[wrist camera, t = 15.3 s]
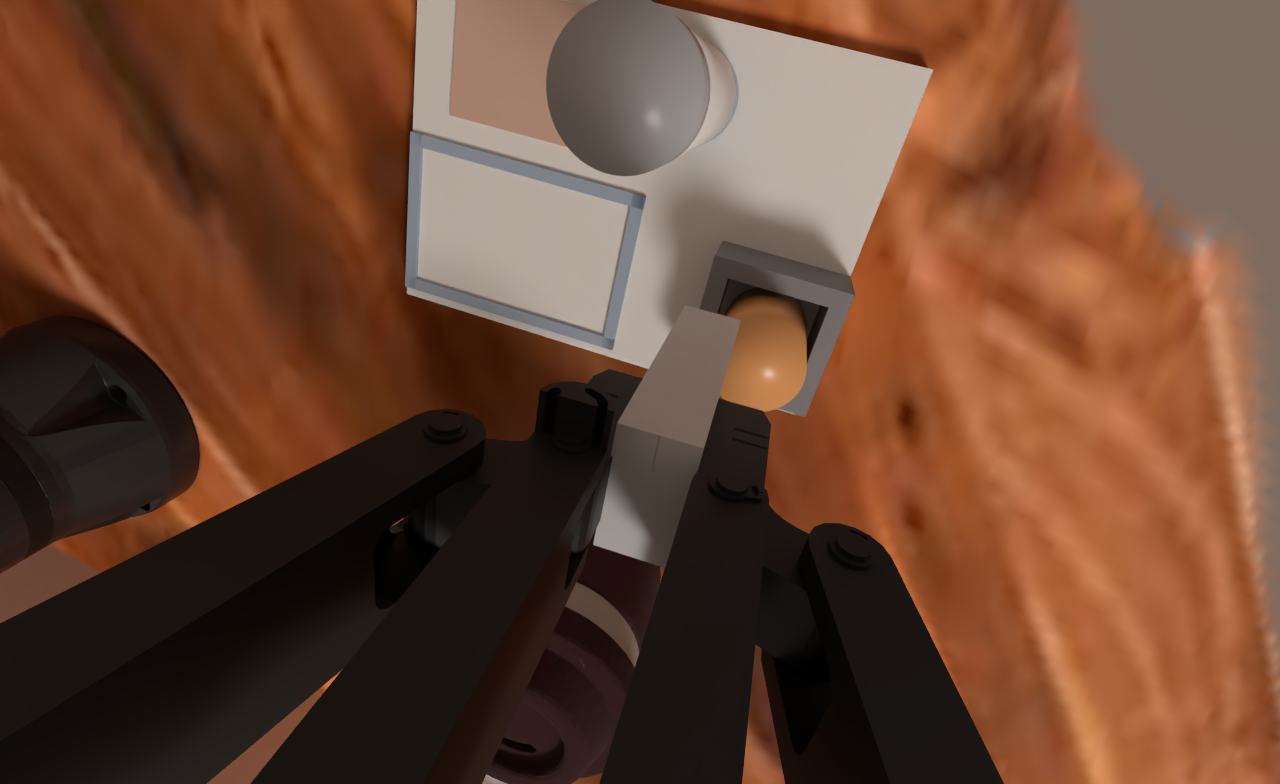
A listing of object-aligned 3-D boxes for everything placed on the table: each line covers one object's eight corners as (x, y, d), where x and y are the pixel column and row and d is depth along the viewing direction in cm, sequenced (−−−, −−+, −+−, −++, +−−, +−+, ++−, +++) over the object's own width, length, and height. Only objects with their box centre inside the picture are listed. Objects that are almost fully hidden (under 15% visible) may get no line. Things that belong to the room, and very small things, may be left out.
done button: (713, 350, 29) (697, 395, 25) (736, 276, 28) (723, 310, 23) (790, 374, 29) (787, 423, 25) (818, 300, 27) (821, 339, 23)
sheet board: (414, 289, 34) (373, 310, 31) (429, -50, 27) (376, -71, 23) (795, 407, 32) (794, 443, 29) (929, 70, 24) (949, 66, 21)
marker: (635, 133, 27) (535, 153, 17) (657, 29, 25) (559, -23, 15) (723, 157, 27) (679, 194, 16) (752, 53, 25) (724, 17, 14)
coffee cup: (592, 417, 35) (465, 607, 22) (723, 520, 36) (676, 762, 23) (509, 513, 40) (365, 718, 27) (627, 602, 41) (543, 842, 28)
